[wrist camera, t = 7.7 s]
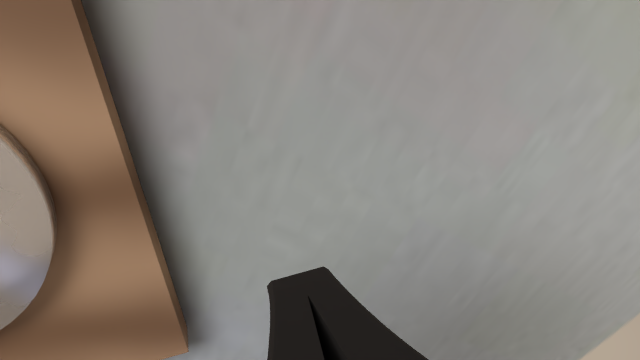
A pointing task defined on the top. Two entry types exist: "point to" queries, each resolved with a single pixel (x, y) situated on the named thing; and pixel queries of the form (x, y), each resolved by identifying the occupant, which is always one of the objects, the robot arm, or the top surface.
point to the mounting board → (82, 199)
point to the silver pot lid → (22, 228)
